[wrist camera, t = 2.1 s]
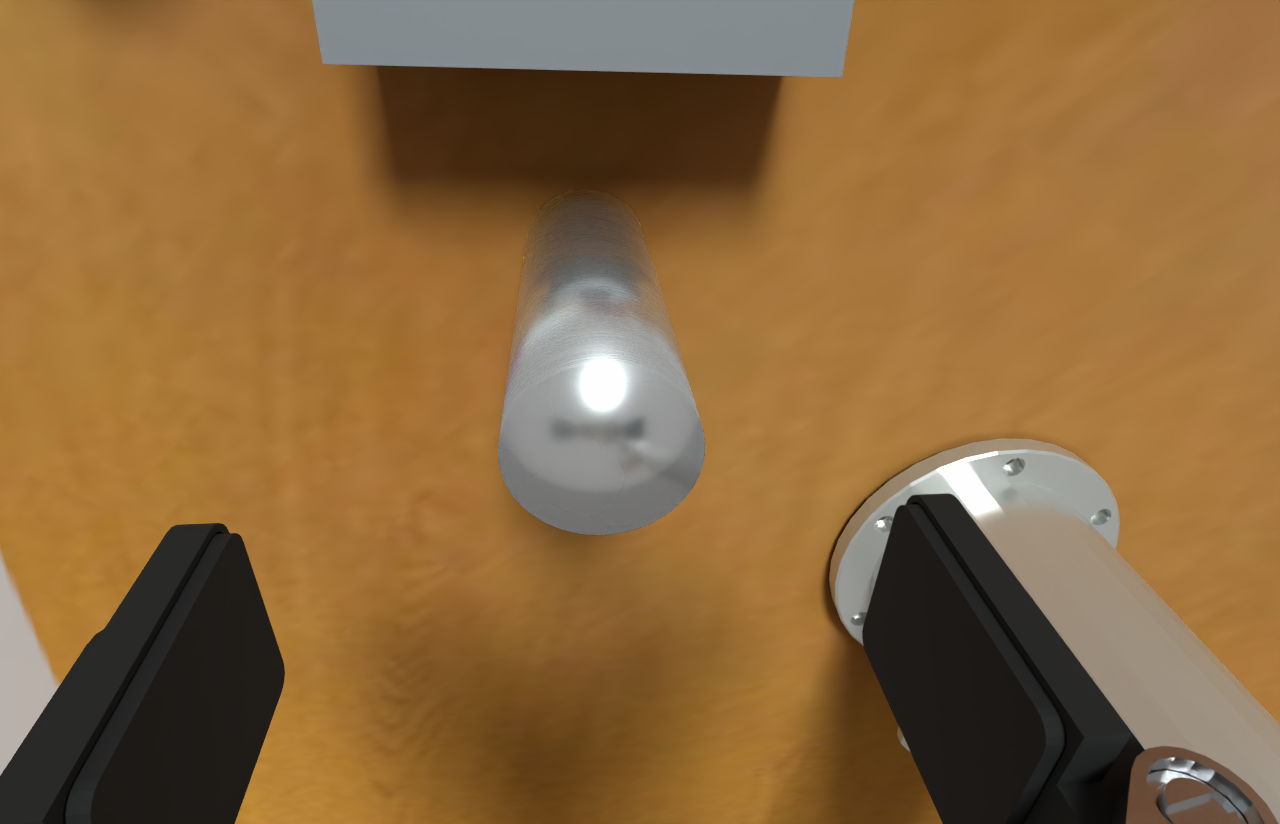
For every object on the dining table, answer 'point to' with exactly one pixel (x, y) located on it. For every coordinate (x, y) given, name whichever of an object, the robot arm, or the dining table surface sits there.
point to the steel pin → (595, 376)
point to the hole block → (591, 35)
